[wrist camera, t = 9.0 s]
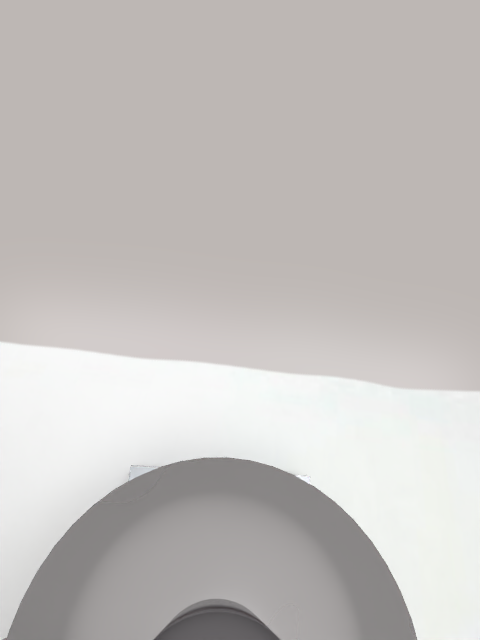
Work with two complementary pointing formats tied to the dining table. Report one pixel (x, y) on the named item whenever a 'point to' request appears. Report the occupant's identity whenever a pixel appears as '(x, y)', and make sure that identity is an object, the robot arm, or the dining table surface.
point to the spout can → (214, 564)
